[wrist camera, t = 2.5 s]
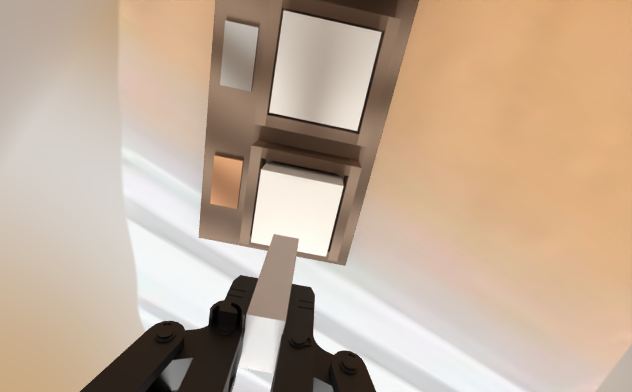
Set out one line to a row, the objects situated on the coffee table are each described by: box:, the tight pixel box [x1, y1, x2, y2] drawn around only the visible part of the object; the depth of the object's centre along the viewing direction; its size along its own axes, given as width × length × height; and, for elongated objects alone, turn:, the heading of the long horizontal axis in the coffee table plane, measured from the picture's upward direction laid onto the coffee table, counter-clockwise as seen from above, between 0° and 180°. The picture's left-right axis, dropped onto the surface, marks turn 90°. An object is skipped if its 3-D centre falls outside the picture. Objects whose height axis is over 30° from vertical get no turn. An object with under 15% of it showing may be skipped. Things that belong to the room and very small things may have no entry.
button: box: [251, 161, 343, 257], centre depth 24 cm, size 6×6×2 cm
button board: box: [199, 0, 419, 266], centre depth 23 cm, size 32×14×4 cm, turn 169°
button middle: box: [269, 11, 382, 131], centre depth 20 cm, size 6×6×2 cm
